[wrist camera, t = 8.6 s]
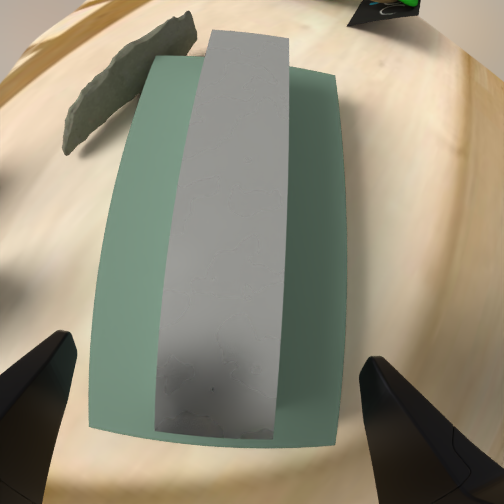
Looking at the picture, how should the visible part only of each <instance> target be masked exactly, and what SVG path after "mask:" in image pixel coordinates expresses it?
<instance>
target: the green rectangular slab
mask: <svg viewBox="0 0 504 504" xmlns="http://www.w3.org/2000/svg"><path fill="white" fill-rule="evenodd" d="M204 58H205V57H197V56H155V59H154V61H153V64H152V66H151V69H150V72H149V74H148V77H147V80H146V82H145V85H144V88H143V91H142V94H141V96H140V99H139V102H138V105H137V108H136V111H135V114H134V118H133V121H132V124H131V127H130V130H129V134H128V137H127V141H126V144H125V148H124V151H123V155H122V158H121V162H120V166H119V170H118V174H117V178H116V182H115V186H114V190H113V195H112V199H111V204H110V208H109V213H108V218H107V223H106V228H105V233H104V239H103V245H102V250H101V257H100V263H99V270H98V277H97V284H96V292H95V300H94V309H93V320H92V331H91V345H90V363H89V427H91V428H96V429H100V430H104V431H109V432H113V433H118V434H123V435H128V436H134V437H140V438H146V439H152V440H159V441H166V442H173V443H182V444H191V445H202V446H215V447H233V448H301V447H318V446H331V445H335V443H336V435H337V427H338V418H339V409H340V399H341V388H342V376H343V362H344V347H345V327H346V299H347V223H346V195H345V175H344V159H343V146H342V134H341V123H340V113H339V103H338V95H337V86H336V78H335V75H331V74H326V73H322V72H317V71H312V70H307V69H301V68H296V67H290V66H289V153H288V195H287V225H286V250H285V272H284V292H283V311H282V327H281V343H280V358H279V372H278V386H277V399H276V411H275V423H274V434H273V440H263V439H230V438H214V437H201V436H190V435H181V434H173V433H165V432H158V431H154V423H155V391H156V371H157V354H158V340H159V328H160V316H161V305H162V295H163V286H164V277H165V268H166V260H167V252H168V245H169V237H170V230H171V223H172V217H173V210H174V204H175V197H176V191H177V185H178V180H179V174H180V168H181V163H182V158H183V152H184V147H185V142H186V137H187V132H188V127H189V122H190V118H191V113H192V109H193V104H194V100H195V95H196V91H197V87H198V83H199V78H200V74H201V70H202V66H203V62H204Z"/></svg>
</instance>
